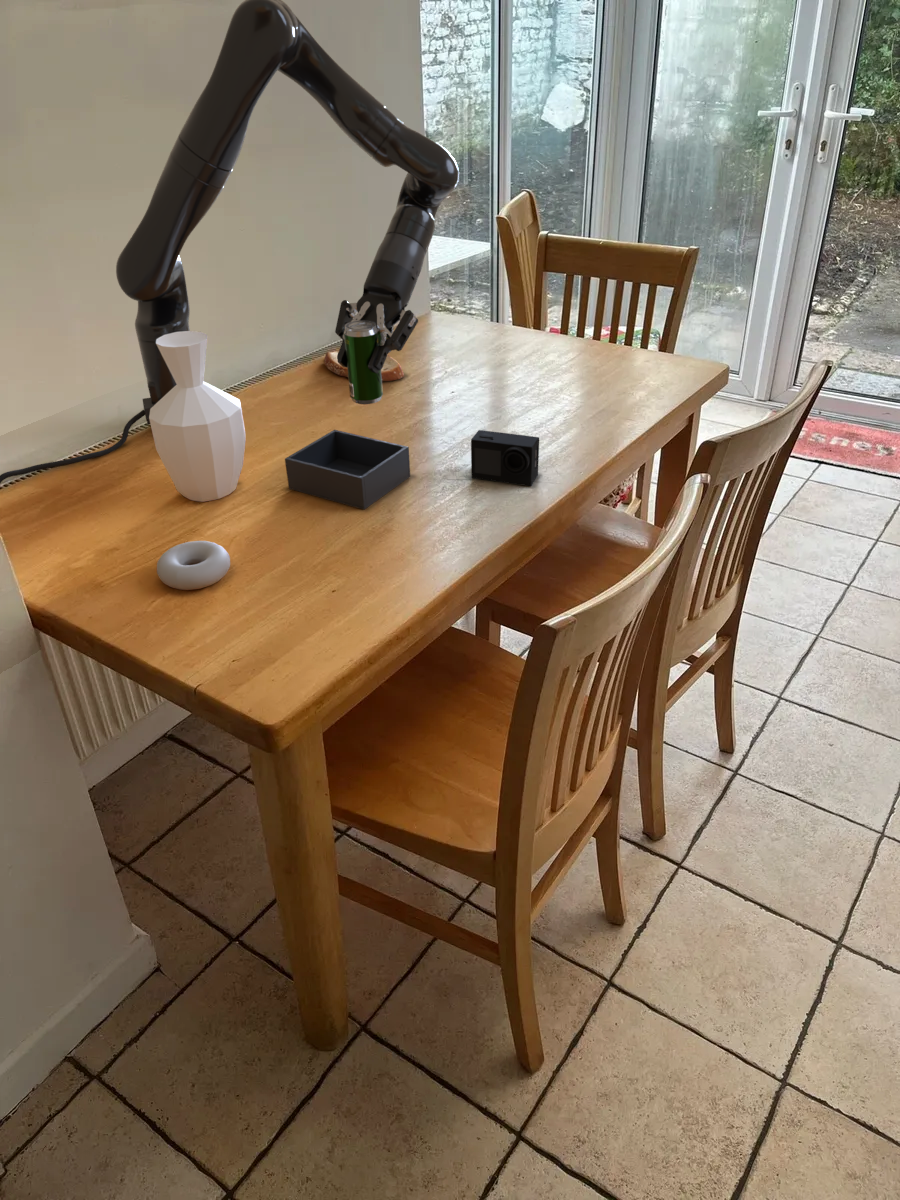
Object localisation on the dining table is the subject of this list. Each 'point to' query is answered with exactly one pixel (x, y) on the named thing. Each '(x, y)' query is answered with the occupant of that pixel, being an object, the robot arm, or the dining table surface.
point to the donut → (193, 565)
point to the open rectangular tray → (348, 468)
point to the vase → (197, 423)
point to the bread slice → (388, 371)
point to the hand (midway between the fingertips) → (357, 367)
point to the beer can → (362, 362)
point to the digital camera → (504, 457)
